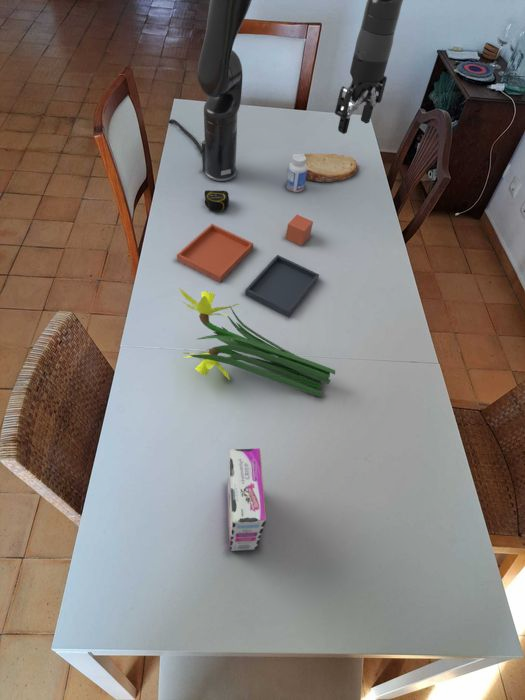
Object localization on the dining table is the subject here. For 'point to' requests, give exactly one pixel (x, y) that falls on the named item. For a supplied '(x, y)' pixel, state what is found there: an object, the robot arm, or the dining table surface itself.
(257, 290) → the slate tray
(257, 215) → the dining table surface
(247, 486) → the candy bar box
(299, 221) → the terracotta block
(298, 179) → the pill bottle
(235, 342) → the daffodil flowers
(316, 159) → the slice of bread
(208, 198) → the tape measure
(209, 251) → the terracotta tray
